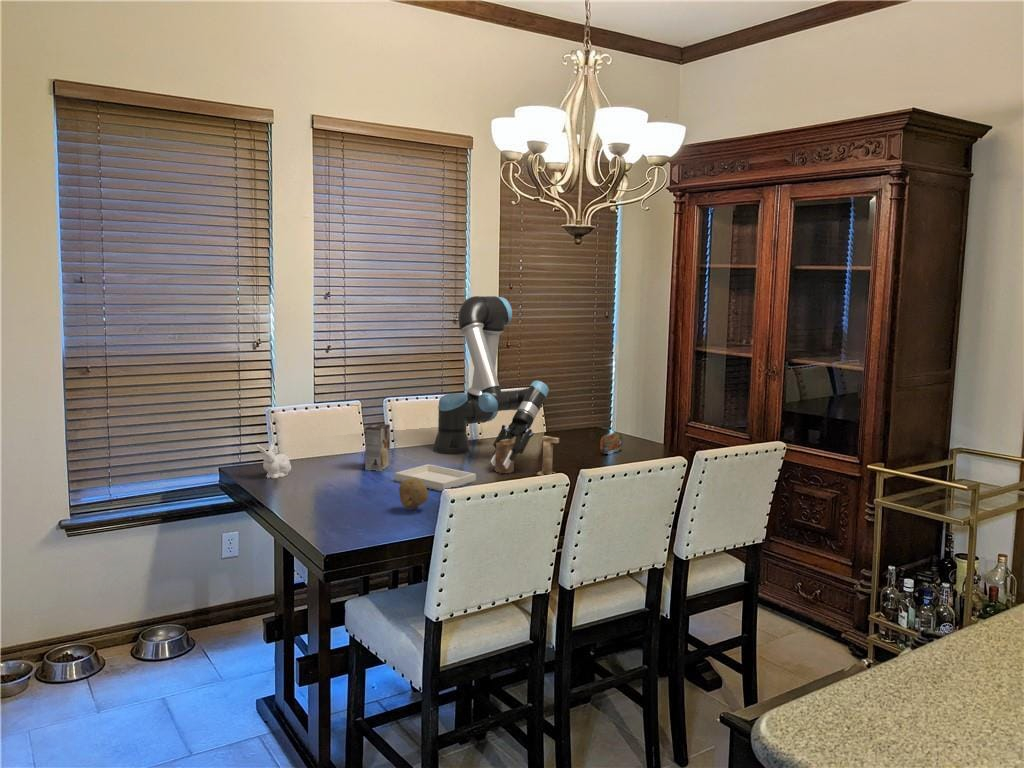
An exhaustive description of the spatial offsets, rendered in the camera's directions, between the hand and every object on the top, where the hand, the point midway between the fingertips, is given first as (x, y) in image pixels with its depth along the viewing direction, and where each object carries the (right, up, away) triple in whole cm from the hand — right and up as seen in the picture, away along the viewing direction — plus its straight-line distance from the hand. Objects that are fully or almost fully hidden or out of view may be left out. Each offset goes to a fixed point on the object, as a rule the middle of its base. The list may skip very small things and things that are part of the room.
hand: (498, 465), depth 301 cm
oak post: (+18, -4, 0) cm, 18 cm away
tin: (+46, +1, +43) cm, 63 cm away
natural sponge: (-26, -9, -49) cm, 56 cm away
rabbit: (-79, -3, -14) cm, 80 cm away
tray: (-22, -4, -14) cm, 26 cm away
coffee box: (-45, -2, +3) cm, 46 cm away
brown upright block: (+2, -3, +3) cm, 5 cm away
